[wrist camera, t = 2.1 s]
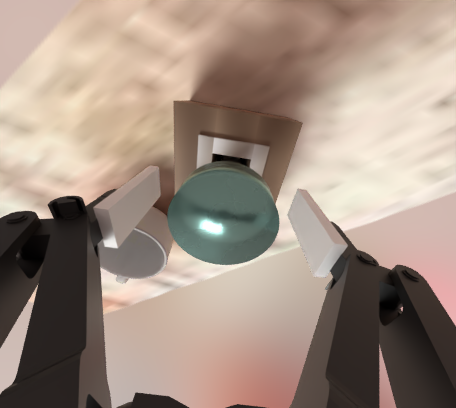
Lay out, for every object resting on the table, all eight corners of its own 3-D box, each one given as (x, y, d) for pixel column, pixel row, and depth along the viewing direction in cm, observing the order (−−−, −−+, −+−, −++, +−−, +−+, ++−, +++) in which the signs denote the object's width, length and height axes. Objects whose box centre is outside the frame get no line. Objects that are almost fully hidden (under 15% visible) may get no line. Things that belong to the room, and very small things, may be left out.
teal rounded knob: (204, 177, 26) (168, 257, 13) (208, 126, 22) (165, 165, 9) (250, 184, 26) (263, 270, 13) (261, 135, 22) (295, 186, 9)
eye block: (186, 189, 27) (173, 212, 22) (189, 100, 21) (172, 100, 15) (262, 201, 27) (268, 226, 22) (287, 117, 21) (304, 123, 16)
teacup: (133, 182, 27) (97, 210, 20) (192, 218, 30) (179, 253, 23) (105, 235, 33) (71, 270, 26) (157, 261, 36) (138, 298, 29)
